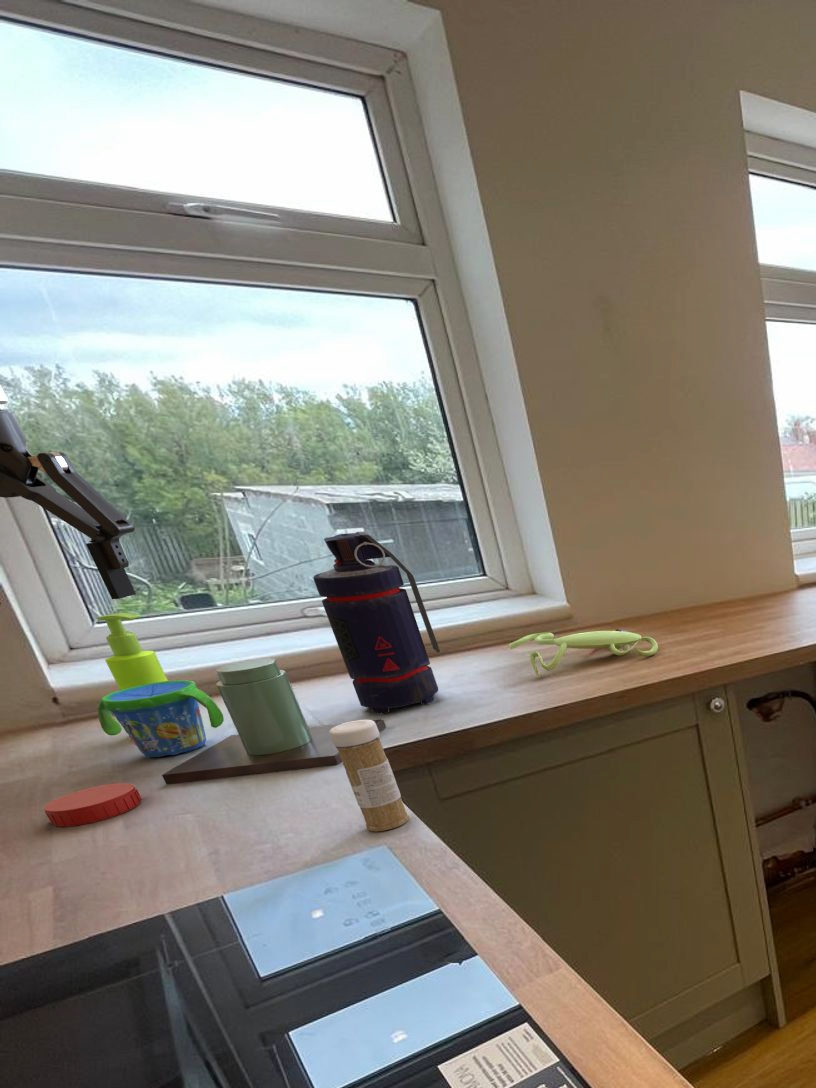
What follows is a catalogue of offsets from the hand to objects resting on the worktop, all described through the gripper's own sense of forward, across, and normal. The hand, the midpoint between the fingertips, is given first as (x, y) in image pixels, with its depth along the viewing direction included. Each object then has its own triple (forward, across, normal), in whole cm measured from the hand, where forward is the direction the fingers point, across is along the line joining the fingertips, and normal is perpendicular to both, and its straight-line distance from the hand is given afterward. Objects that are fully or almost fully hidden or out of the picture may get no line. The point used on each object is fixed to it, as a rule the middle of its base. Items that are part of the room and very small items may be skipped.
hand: (56, 602), depth 96 cm
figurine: (+29, +39, +61) cm, 78 cm away
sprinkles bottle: (+29, +32, -13) cm, 45 cm away
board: (+29, +4, +20) cm, 35 cm away
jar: (+27, +4, +20) cm, 34 cm away
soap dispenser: (+29, -24, +41) cm, 56 cm away
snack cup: (+29, -15, +28) cm, 43 cm away
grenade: (+29, +13, +42) cm, 53 cm away
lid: (+27, -10, +4) cm, 29 cm away
